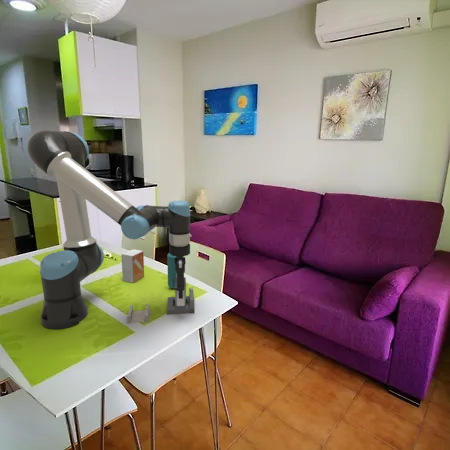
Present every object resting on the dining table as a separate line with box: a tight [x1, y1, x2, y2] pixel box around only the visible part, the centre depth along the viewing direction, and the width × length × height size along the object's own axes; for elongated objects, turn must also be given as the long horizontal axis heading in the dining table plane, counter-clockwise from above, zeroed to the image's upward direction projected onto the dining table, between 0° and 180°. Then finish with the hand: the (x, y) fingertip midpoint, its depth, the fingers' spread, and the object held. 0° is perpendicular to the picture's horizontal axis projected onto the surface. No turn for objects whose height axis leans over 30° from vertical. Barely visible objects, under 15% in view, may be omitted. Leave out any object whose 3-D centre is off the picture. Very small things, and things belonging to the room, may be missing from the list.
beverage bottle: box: [166, 249, 177, 289], centre depth 138 cm, size 6×7×20 cm
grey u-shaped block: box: [125, 303, 152, 324], centre depth 116 cm, size 8×8×3 cm
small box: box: [120, 248, 145, 284], centre depth 147 cm, size 8×6×13 cm
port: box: [166, 287, 195, 316], centre depth 122 cm, size 10×10×7 cm
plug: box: [174, 276, 187, 307], centre depth 122 cm, size 4×4×12 cm
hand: (180, 296), depth 122 cm, fingers open, 13 cm apart
